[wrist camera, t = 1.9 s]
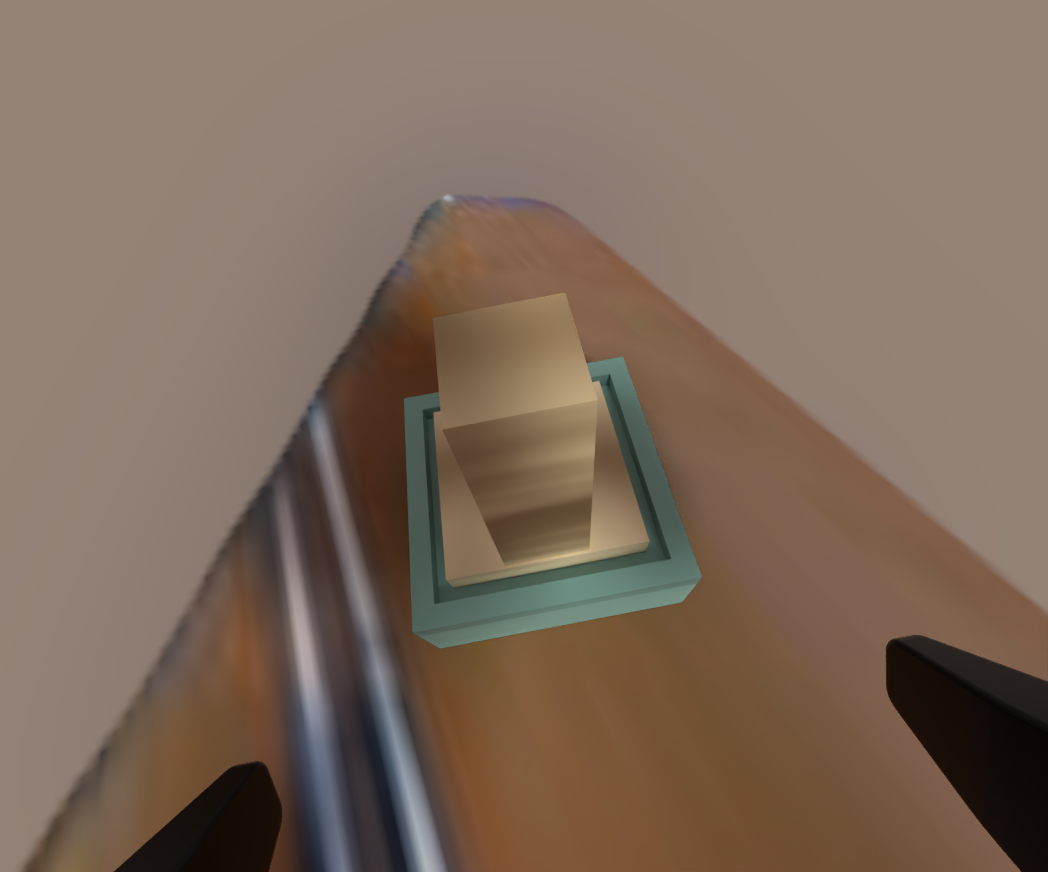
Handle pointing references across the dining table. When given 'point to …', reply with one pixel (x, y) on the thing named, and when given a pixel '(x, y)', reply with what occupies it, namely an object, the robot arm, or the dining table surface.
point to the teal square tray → (555, 592)
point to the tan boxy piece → (526, 447)
